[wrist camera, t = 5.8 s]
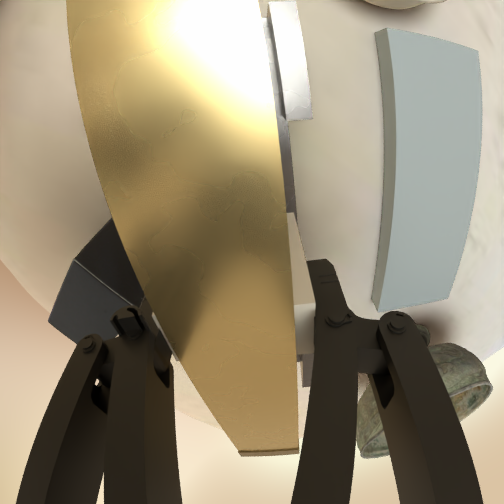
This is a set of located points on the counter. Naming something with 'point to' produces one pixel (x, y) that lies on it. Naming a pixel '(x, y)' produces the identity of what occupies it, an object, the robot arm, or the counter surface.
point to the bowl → (457, 384)
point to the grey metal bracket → (288, 101)
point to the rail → (198, 195)
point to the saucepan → (401, 3)
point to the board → (426, 165)
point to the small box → (96, 288)
